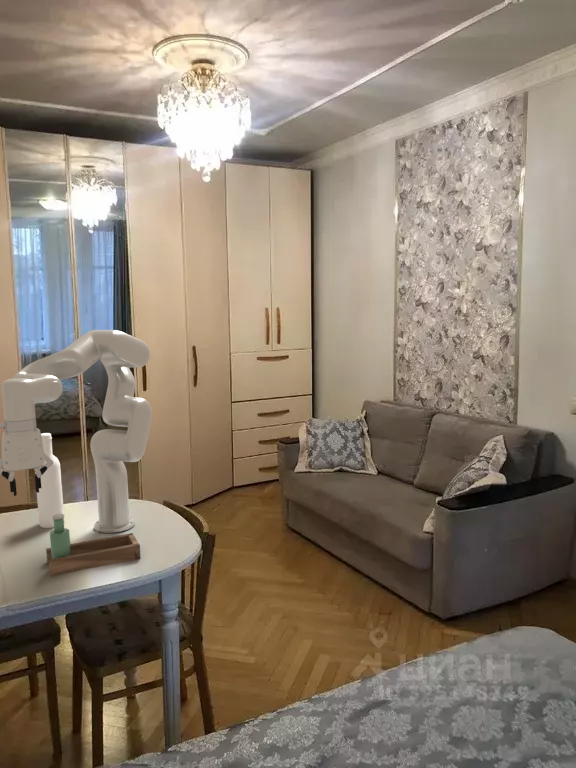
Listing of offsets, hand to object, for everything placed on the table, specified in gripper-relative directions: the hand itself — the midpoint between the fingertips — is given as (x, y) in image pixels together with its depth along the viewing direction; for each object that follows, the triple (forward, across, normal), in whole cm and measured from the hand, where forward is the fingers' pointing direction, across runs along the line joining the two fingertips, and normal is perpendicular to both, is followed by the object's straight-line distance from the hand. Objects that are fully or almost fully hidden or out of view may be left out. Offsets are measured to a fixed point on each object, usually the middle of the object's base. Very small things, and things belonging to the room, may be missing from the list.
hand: (26, 492), depth 168 cm
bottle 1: (+23, +8, +36) cm, 43 cm away
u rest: (+22, +15, 0) cm, 27 cm away
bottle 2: (+22, +8, 0) cm, 24 cm away
